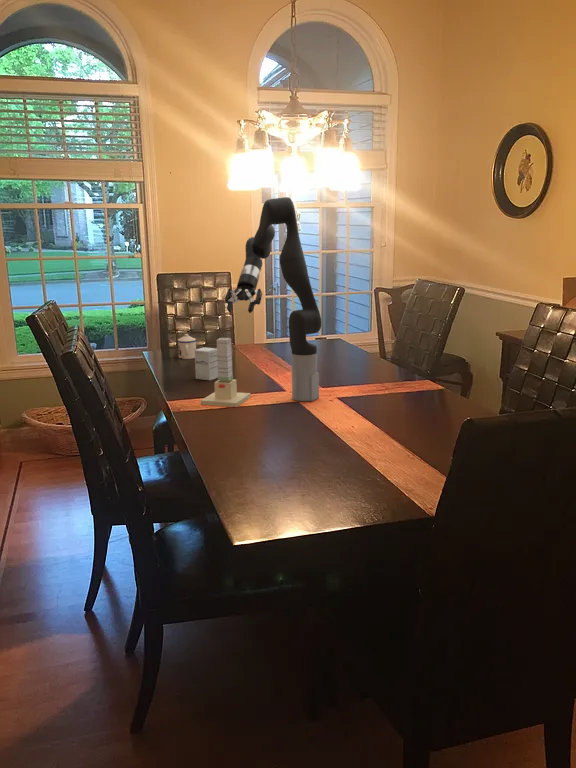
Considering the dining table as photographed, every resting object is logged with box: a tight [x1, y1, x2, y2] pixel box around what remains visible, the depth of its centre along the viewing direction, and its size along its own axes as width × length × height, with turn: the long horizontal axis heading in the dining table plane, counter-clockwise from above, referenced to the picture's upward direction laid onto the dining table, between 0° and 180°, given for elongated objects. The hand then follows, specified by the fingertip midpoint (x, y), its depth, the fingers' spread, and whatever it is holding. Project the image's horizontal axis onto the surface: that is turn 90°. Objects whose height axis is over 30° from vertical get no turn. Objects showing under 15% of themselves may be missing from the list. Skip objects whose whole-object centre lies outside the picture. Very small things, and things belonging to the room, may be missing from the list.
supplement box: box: [194, 347, 218, 381], centre depth 275 cm, size 7×7×13 cm
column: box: [216, 337, 234, 381], centre depth 237 cm, size 4×4×15 cm
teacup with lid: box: [177, 333, 197, 360], centre depth 317 cm, size 12×9×12 cm
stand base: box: [200, 378, 252, 408], centre depth 240 cm, size 14×14×8 cm
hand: (239, 311), depth 252 cm, fingers open, 8 cm apart
